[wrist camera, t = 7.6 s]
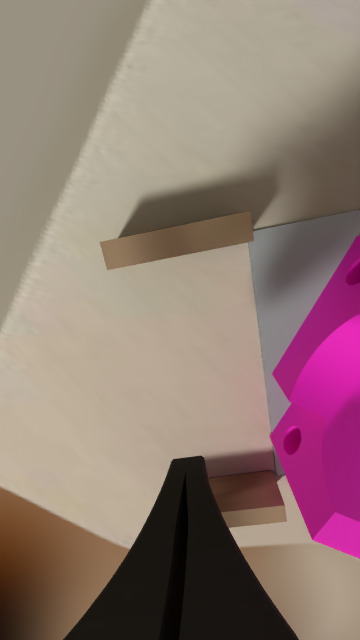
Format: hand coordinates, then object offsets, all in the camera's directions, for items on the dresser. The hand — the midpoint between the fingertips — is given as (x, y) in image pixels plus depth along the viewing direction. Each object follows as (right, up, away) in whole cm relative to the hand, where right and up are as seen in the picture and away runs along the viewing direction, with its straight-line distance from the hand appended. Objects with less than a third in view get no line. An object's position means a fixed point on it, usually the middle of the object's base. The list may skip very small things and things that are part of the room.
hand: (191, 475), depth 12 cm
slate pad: (+9, +4, +7) cm, 12 cm away
